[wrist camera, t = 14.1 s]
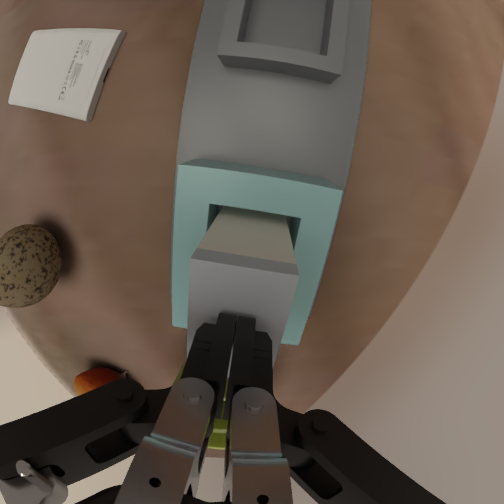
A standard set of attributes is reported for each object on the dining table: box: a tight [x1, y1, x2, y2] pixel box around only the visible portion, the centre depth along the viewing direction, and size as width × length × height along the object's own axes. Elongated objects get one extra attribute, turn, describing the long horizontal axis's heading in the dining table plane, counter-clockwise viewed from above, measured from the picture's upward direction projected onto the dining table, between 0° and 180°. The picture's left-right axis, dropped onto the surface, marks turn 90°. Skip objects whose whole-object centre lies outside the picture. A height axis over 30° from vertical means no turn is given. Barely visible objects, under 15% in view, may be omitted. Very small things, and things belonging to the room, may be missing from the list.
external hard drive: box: [8, 28, 126, 121], centre depth 15 cm, size 2×8×12 cm
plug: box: [187, 206, 299, 377], centre depth 16 cm, size 6×4×10 cm, turn 171°
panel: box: [170, 0, 372, 345], centre depth 16 cm, size 28×12×5 cm, turn 171°
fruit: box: [74, 367, 128, 396], centre depth 27 cm, size 8×8×8 cm
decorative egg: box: [0, 224, 62, 308], centre depth 18 cm, size 7×7×10 cm
